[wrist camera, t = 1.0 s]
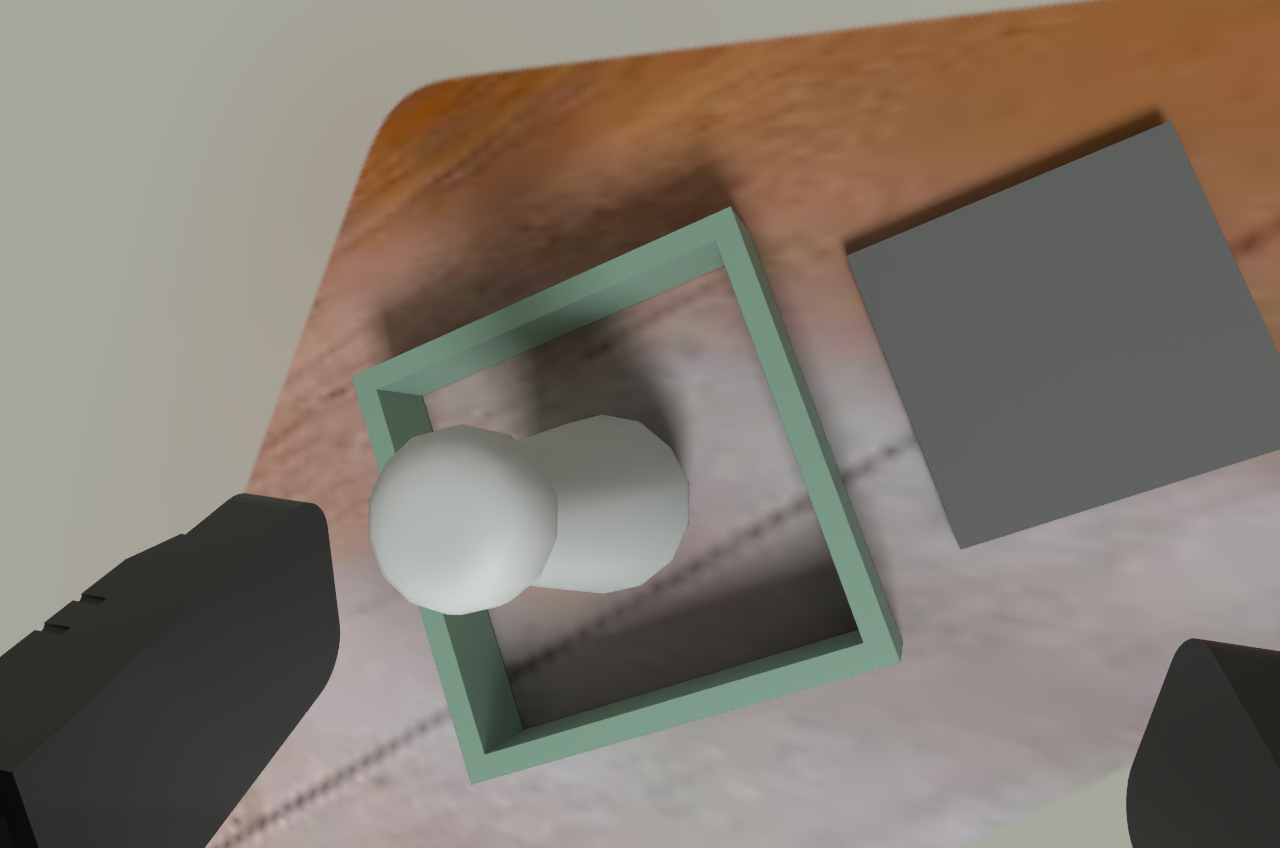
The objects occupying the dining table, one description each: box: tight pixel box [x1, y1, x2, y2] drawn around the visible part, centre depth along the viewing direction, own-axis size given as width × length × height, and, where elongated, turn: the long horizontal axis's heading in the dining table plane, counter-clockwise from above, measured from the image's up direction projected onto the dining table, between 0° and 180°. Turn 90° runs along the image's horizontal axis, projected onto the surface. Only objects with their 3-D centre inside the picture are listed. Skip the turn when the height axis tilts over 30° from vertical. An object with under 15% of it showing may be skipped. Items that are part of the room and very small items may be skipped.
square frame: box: [352, 206, 903, 785], centre depth 30 cm, size 15×15×3 cm
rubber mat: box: [846, 121, 1280, 549], centre depth 27 cm, size 10×10×1 cm
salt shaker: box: [369, 415, 689, 615], centre depth 26 cm, size 6×6×13 cm
